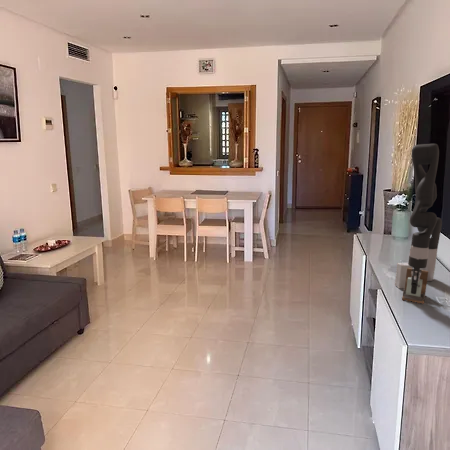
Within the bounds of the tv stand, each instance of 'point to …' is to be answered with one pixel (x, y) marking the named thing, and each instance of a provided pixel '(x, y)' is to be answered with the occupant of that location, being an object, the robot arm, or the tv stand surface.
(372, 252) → the tv stand surface
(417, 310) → the tv stand surface
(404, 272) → the skincare box
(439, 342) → the tv stand surface
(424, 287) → the cabinet
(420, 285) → the door
